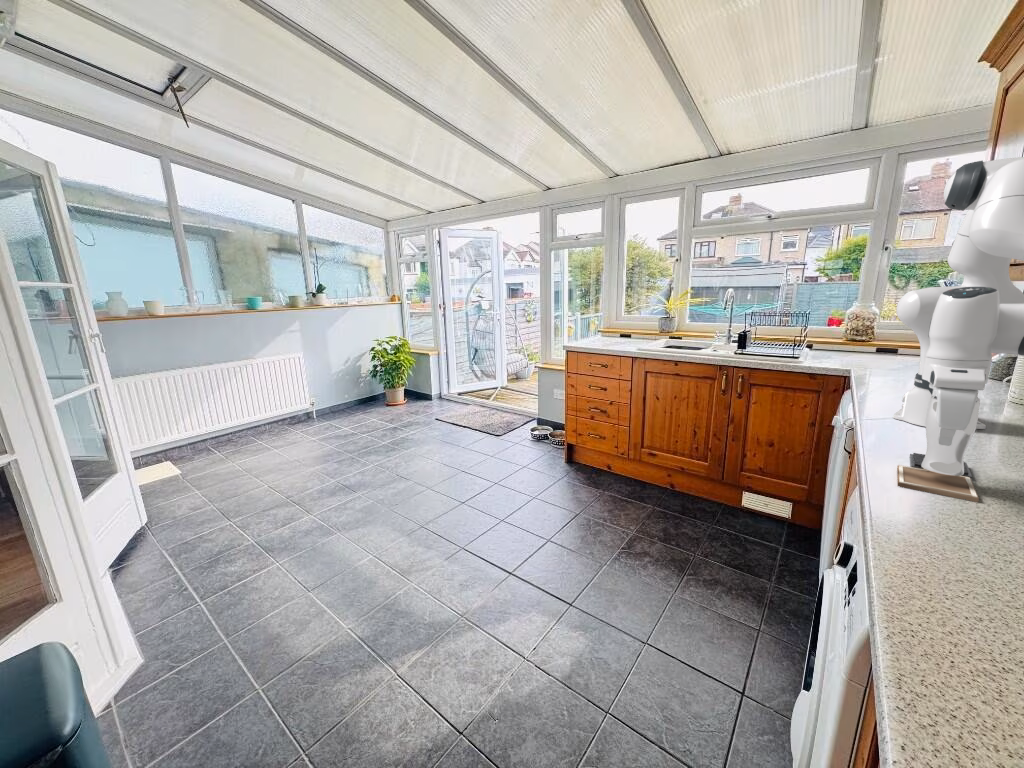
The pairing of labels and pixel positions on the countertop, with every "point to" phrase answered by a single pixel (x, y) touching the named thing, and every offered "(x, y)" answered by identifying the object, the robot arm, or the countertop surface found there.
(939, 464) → the beer glass
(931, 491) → the board
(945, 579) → the countertop surface
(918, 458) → the ink pad
